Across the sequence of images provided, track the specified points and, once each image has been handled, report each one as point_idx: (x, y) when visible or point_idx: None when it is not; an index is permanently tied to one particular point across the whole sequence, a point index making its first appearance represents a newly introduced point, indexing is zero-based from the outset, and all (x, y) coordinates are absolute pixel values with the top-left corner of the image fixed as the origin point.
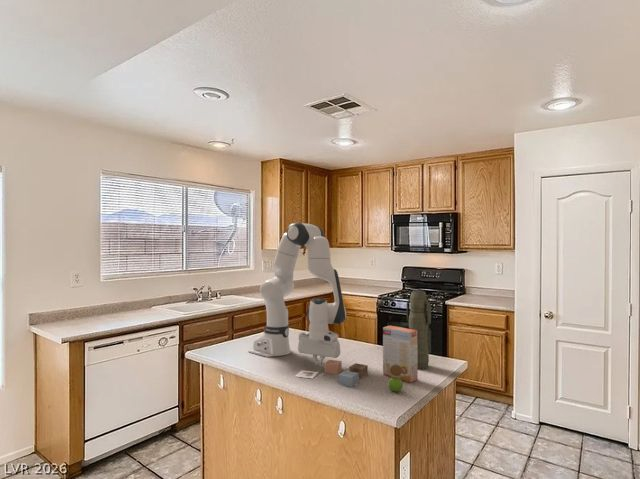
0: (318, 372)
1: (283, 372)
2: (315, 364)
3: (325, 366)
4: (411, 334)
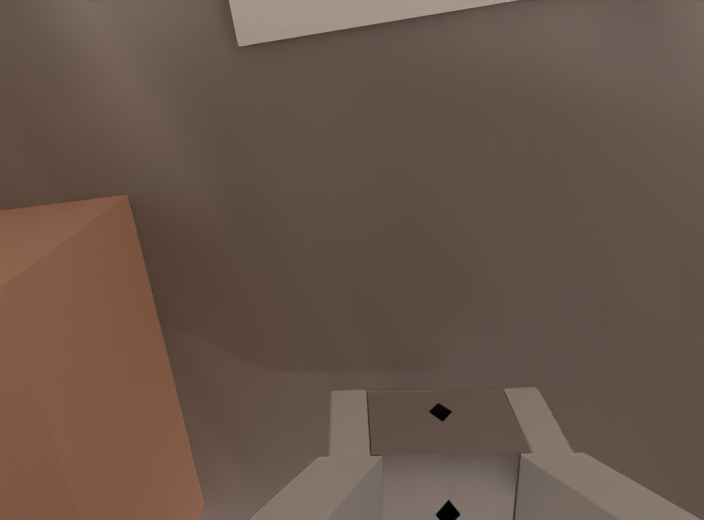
0: (238, 38)
1: None
2: (522, 388)
3: (24, 246)
4: None
